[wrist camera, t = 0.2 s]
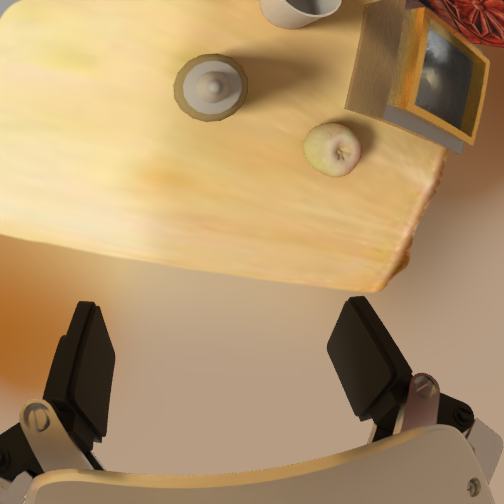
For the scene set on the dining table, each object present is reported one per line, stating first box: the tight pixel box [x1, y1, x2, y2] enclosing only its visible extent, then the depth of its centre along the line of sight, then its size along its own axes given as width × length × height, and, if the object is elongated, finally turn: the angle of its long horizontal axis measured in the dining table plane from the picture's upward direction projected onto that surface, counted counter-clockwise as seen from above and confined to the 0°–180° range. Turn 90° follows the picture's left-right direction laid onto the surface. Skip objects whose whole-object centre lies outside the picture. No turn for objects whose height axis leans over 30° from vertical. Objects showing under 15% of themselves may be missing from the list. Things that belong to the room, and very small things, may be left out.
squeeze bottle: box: [173, 54, 248, 122], centre depth 24 cm, size 8×8×18 cm
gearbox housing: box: [344, 0, 490, 155], centre depth 27 cm, size 18×16×12 cm
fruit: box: [303, 123, 361, 177], centre depth 35 cm, size 8×7×8 cm
